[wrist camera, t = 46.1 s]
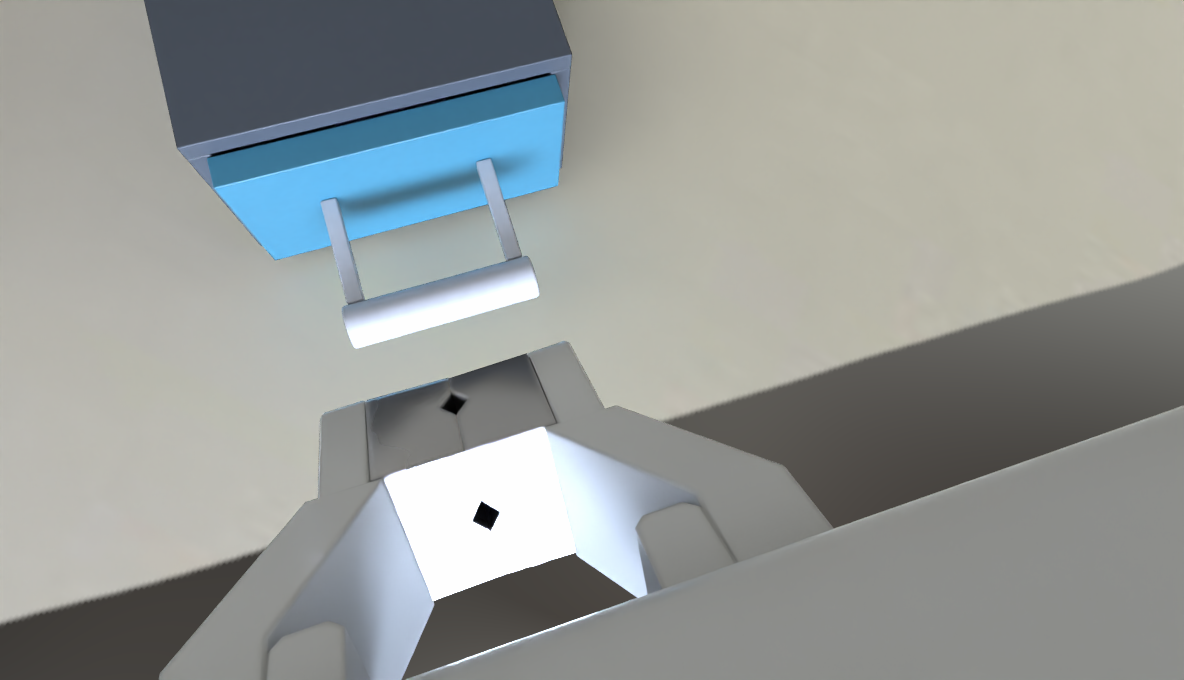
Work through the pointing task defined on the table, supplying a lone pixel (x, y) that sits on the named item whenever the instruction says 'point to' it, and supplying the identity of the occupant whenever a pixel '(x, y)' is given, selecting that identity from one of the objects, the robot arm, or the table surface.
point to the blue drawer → (404, 194)
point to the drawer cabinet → (336, 62)
